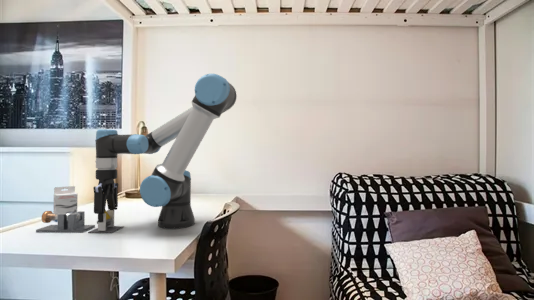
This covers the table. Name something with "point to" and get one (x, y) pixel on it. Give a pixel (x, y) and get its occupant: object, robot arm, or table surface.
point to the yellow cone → (107, 219)
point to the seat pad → (107, 230)
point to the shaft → (56, 216)
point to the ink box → (65, 199)
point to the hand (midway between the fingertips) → (106, 228)
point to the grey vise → (68, 224)
